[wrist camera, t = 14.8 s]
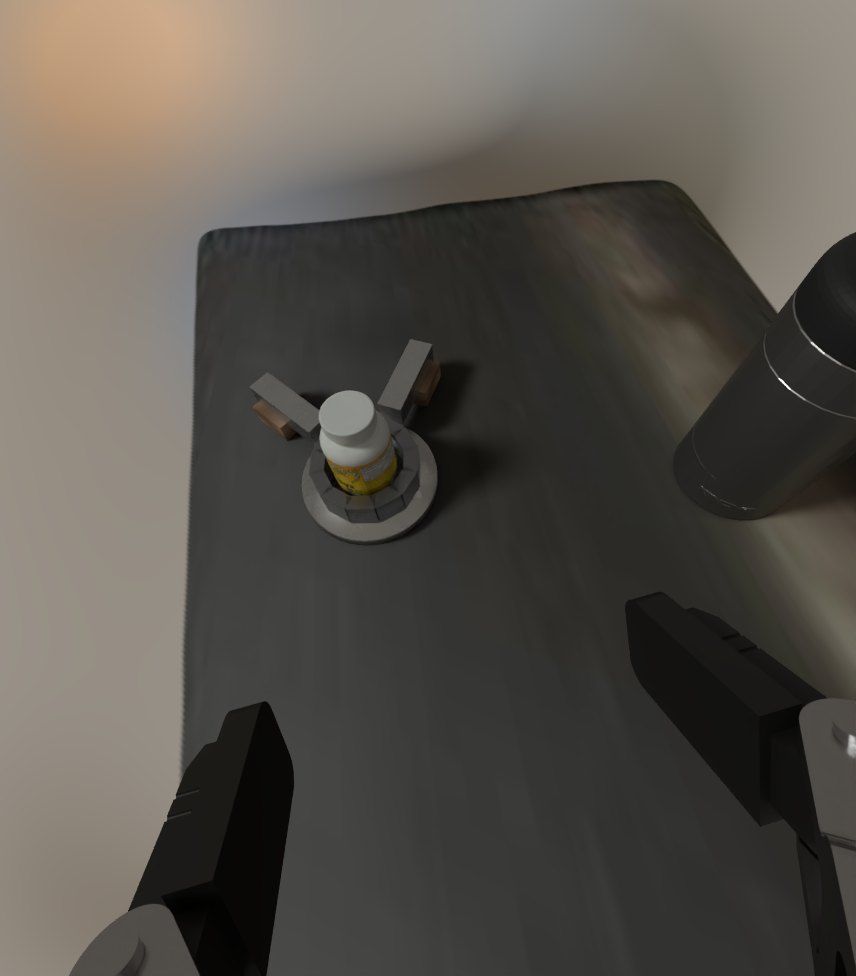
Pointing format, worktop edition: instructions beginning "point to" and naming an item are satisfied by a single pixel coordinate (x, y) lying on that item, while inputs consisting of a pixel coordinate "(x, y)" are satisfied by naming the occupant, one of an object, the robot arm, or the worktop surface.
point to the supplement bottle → (357, 444)
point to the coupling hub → (379, 512)
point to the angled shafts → (390, 405)
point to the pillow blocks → (421, 399)
